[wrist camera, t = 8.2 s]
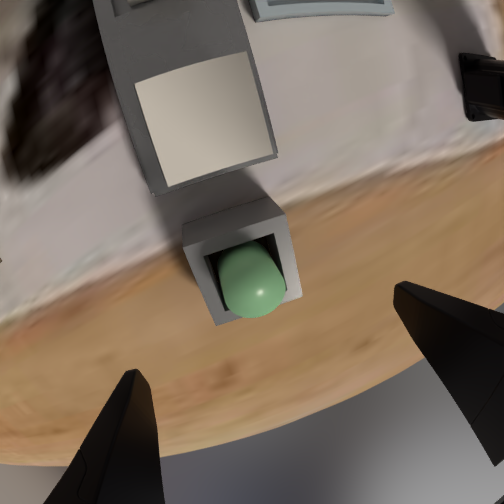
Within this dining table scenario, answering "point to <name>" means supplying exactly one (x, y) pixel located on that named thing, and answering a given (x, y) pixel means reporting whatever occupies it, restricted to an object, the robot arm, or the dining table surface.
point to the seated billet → (204, 117)
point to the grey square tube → (234, 233)
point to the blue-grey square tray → (317, 8)
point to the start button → (250, 280)
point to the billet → (135, 2)
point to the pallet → (169, 61)
